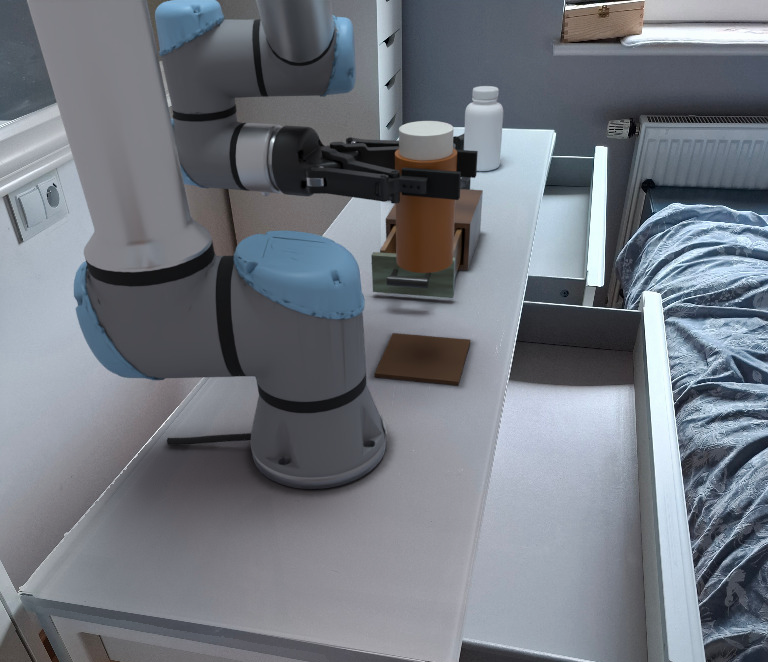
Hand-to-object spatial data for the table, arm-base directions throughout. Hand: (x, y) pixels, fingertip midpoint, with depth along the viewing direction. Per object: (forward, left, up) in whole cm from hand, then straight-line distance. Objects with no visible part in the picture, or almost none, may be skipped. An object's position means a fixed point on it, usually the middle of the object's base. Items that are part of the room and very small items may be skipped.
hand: (467, 174), depth 80 cm
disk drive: (+18, +62, -24) cm, 68 cm away
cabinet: (+10, +36, -23) cm, 44 cm away
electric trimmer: (+38, +91, -24) cm, 101 cm away
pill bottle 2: (+35, +75, -24) cm, 86 cm away
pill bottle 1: (-4, +3, -11) cm, 12 cm away
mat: (-5, +1, -23) cm, 24 cm away
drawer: (+2, +23, -22) cm, 32 cm away
